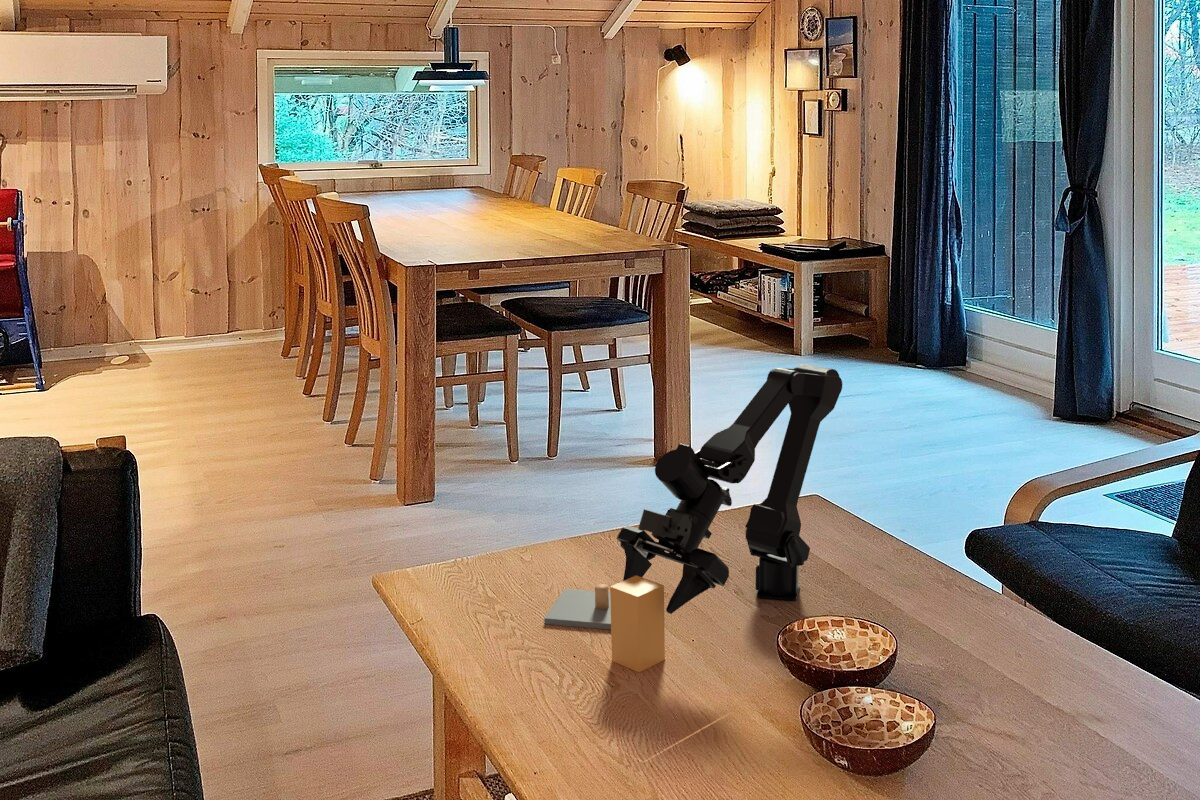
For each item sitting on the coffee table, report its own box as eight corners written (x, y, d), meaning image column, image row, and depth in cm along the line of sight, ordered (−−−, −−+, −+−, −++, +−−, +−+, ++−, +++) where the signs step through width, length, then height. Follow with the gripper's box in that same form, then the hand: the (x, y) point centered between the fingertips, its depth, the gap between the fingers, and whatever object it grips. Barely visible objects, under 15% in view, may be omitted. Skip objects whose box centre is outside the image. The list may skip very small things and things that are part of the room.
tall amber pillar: (637, 648, 197) (636, 575, 194) (664, 659, 193) (663, 585, 190) (611, 660, 193) (610, 586, 190) (639, 672, 190) (637, 596, 186)
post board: (657, 601, 214) (657, 576, 213) (642, 632, 203) (641, 605, 201) (564, 594, 218) (564, 569, 217) (544, 623, 207) (543, 597, 205)
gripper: (623, 475, 198) (573, 562, 193) (717, 502, 185) (665, 596, 181) (659, 511, 205) (611, 595, 201) (751, 539, 193) (702, 630, 188)
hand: (645, 603), depth 192 cm, fingers open, 9 cm apart
